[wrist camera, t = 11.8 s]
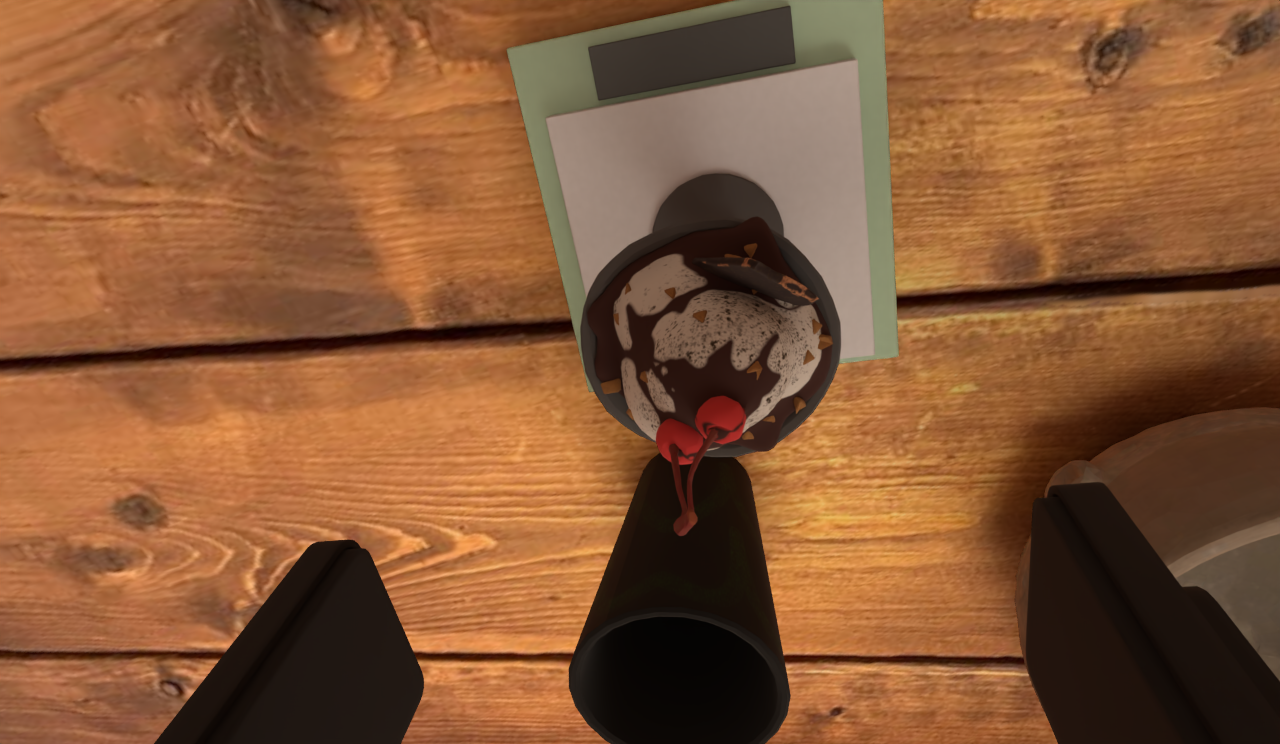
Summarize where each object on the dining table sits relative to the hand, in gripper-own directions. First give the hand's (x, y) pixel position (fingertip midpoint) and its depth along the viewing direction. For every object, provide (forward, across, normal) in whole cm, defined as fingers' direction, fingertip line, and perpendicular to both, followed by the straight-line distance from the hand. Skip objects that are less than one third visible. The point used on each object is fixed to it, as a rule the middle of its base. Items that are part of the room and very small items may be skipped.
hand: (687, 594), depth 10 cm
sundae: (+20, 0, +1) cm, 20 cm away
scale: (+22, 0, 0) cm, 22 cm away
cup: (+22, +3, +14) cm, 26 cm away
